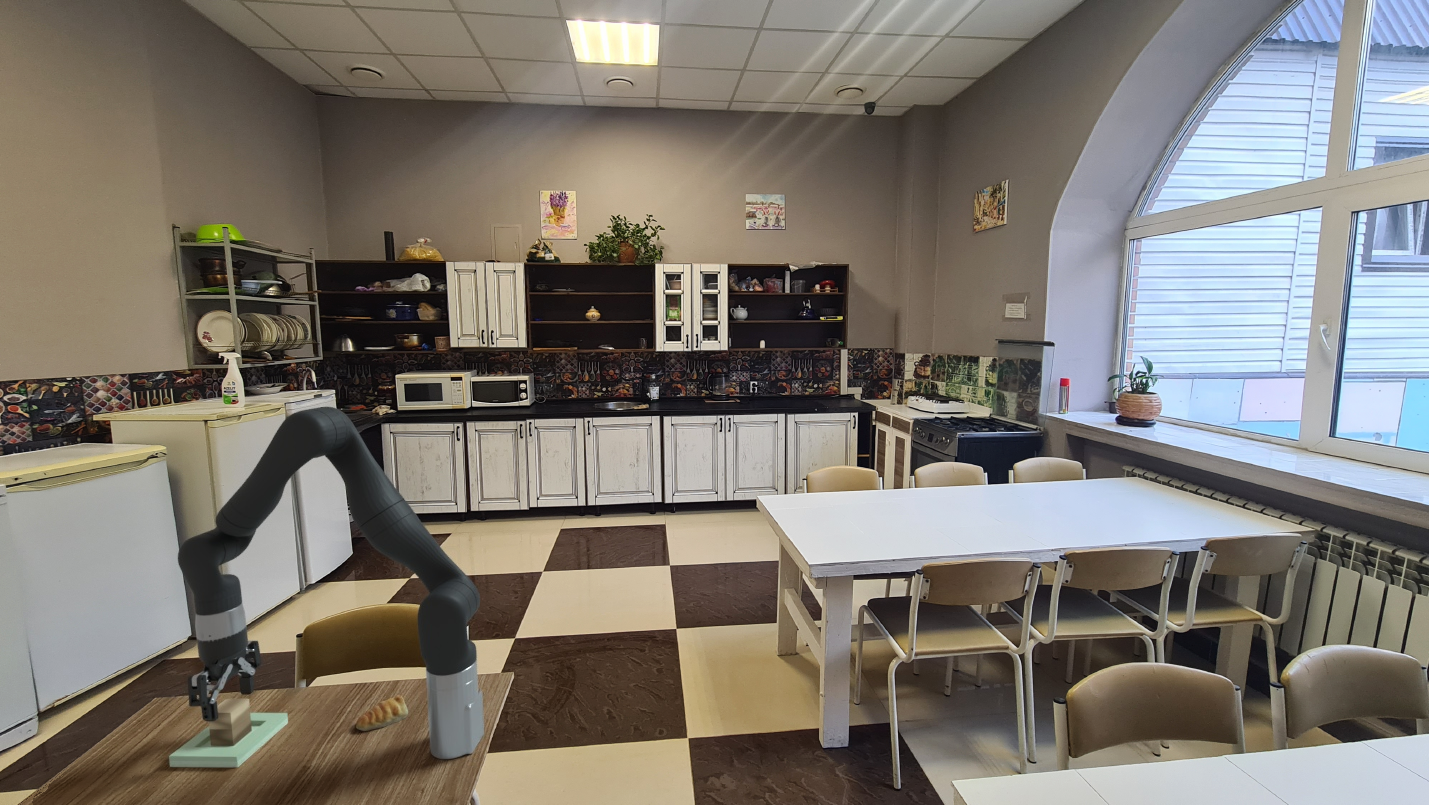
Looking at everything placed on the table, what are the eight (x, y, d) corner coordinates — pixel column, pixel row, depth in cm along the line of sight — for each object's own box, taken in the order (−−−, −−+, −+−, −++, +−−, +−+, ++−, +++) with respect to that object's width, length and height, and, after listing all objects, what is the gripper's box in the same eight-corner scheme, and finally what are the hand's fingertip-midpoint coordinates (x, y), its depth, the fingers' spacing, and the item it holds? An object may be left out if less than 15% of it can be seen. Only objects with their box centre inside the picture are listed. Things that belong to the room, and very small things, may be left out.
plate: (288, 722, 123) (287, 713, 123) (237, 767, 110) (236, 756, 110) (227, 722, 124) (226, 712, 123) (170, 766, 111) (168, 756, 110)
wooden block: (251, 730, 119) (249, 698, 118) (233, 746, 115) (230, 712, 114) (230, 730, 119) (227, 698, 118) (210, 745, 115) (207, 712, 114)
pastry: (362, 739, 119) (360, 721, 118) (352, 724, 123) (350, 707, 123) (410, 717, 126) (409, 701, 125) (399, 704, 130) (398, 688, 130)
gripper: (209, 648, 107) (218, 730, 109) (268, 612, 121) (275, 685, 123) (168, 648, 107) (178, 730, 109) (233, 612, 122) (240, 685, 123)
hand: (230, 706), depth 116 cm, fingers open, 8 cm apart
